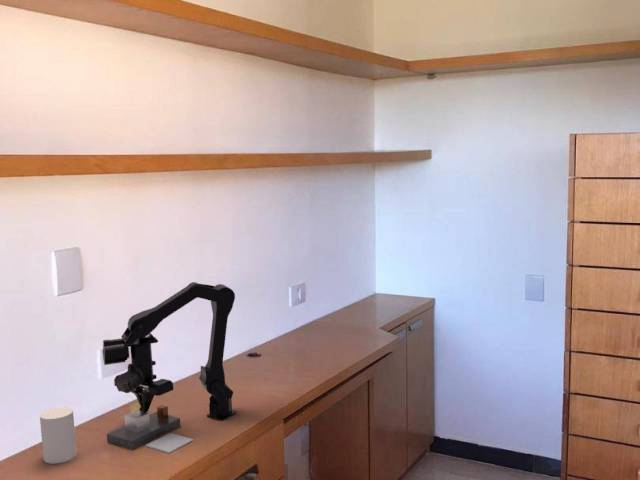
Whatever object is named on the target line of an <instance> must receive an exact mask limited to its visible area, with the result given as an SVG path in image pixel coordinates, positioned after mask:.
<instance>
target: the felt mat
mask: <svg viewBox="0 0 640 480" xmlns="http://www.w3.org/2000/svg"><path fill="white" fill-rule="evenodd" d="M191 441H192V442H194V439H192V438H190V437H186V436H182V435H180V434H176V433H171V432H168V433H166V434H164V435H162V436H160V437H158V438H156V439H154V440H152V441H150V442H148V443H146V444H145V447H147V448H150V449H153V450H156V451H161V452H163V453H165V454H166V453H167V454H171V453H173V452H176V451H177V450H179V449H181V448H182V446H183V447H184V445H185V446H186V445H188V444H190V443H192V442H191ZM189 442H190V443H189ZM187 443H188V444H187ZM180 447H181V448H180Z"/></svg>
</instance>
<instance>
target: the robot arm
mask: <svg viewBox="0 0 640 480" xmlns="http://www.w3.org/2000/svg"><path fill="white" fill-rule="evenodd" d="M196 299H203V300H206V301H209V302H210V305H211V310H212V319H211V320H212V321H211V322H212V323H211V330H210V340H209V346H208V347H209V350H208V357H207V362H206V363H205V366H203V365H200V375H199V377H198V379H199V380H200V383H201V386H203V388H204V389H205V390H206V392H207V393H208V394H210V397H209V398H208V399H209V402H208V403H209V404H208V407H209V413H207V414H206V417H207V418H210V419H214V420H218V421H224V420H226V419H228V418H231V417H232V416H234V415H236V414H237V411H235V410H233V402H232V400H233V399H232V398H233V394H234V391H233V390H232V389H231V387H230V386H228V384H227V383H226V377H225V375H226V374H225V369H224V365H223V363H224V355H225V354H224V353H225V345H226V335H227V328H228V319H229V315H230V314H231V311H232V310H233V308H234V307H233V306H234V303H235V299H236V294H235V291H234V290H233V289H232V288H230V287H229V286H227V285H225V284H219V283H218V284H216V285H212V284H205V283H204V284H203V283H198V282H196V281H193V282H190V283H189V284H188V285H187V286H185V287H183V288H182V289H181V290H179V291H177V292H175V293H174V294H173V295H172V296H170V297H169V298H167V299H165V300H164V301H161V303H159V304H157V305H155V306H154V307H152V308H149V309H145V310H142V311H140V312H137V313H135V314H133V315H131V316H130V317H129V319H128V322H127V328H126V329H125V331H123V333H122V334H121V338H115V339H104V340H102V359H103V364H104V366H107V365H108V366H109V365H114V364H122V363H126V361H128V359H129V358H130V359H131V360H130V362H131V363H129V364H128V365H127V371H126V372H122V373H120V374H118V375H116V376H115V377H114V379H113V384H114V387H116V389H117V391H118V392H123V393H124V394H129V393H132V394H133V395H135V397H136V399H137V401H138V402H137V403H139V404H140V406H141V408H142V411H143V412H146V413H149V409H150V407H151V405H152V402H153V399H154V397H155V396H157V397H158V396H159V397H160V396H163V395H164V394H167V393H169V392H171V391H174V382H173V381H172V380H170V379H165V378H161V379H158V380H156V379H157V374H154V370H153V369H154V368H153V366H156V365H157V363H156V360H153V354H152V344H156V343H159V340H158V339H157V338H156V336H154V335H153V334H152V332H153V331H155V329H157V327H158V326H159V325H160V323H161V322H163V320H165V319H166V318H168V317H169V316H171V315H172V314H173V313H176V312H177V311H179V310H180V309H182V308H184V307H185V306H186V305H188V304H190V302H193V301H194V300H196ZM129 348H130V349H129ZM129 350H130V351H129Z"/></svg>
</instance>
